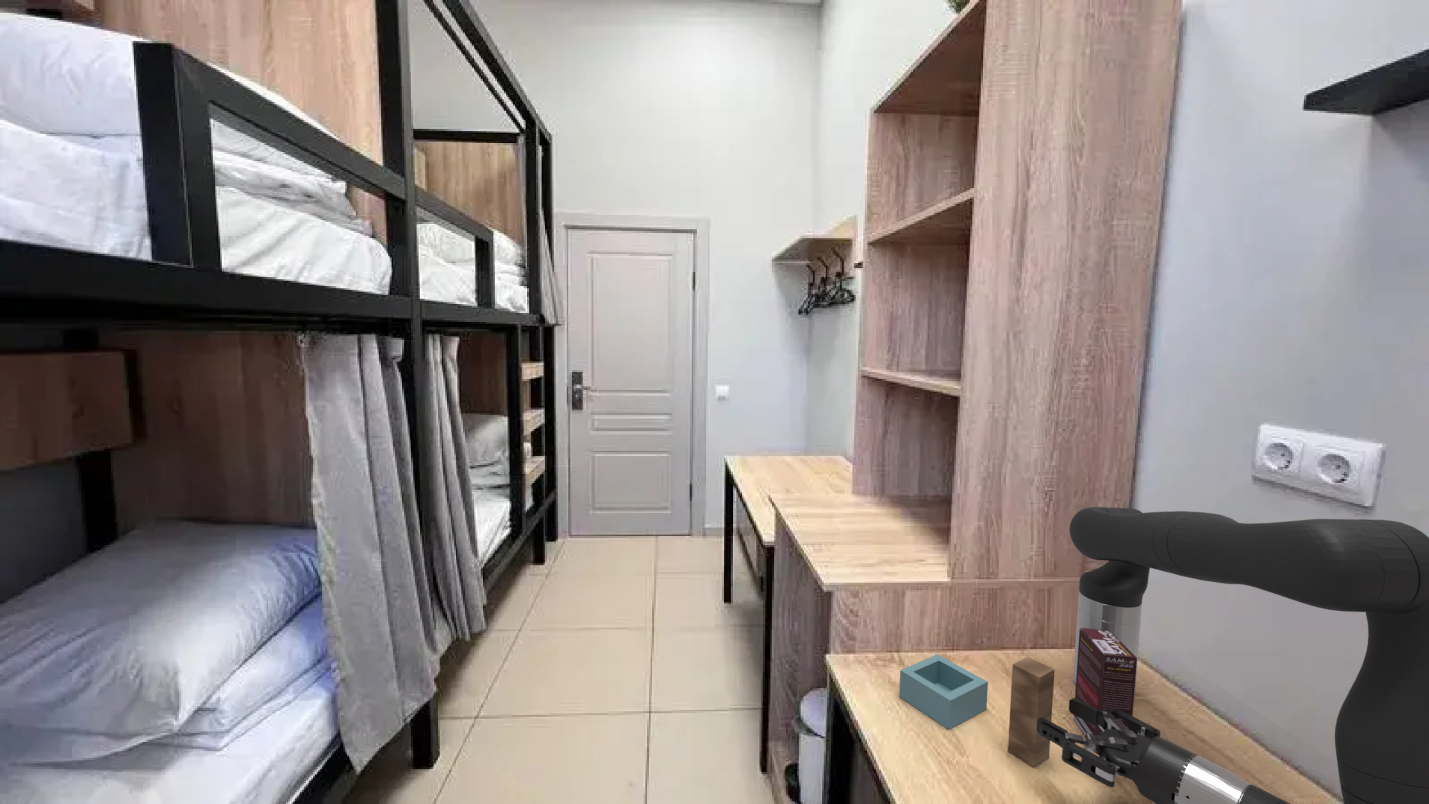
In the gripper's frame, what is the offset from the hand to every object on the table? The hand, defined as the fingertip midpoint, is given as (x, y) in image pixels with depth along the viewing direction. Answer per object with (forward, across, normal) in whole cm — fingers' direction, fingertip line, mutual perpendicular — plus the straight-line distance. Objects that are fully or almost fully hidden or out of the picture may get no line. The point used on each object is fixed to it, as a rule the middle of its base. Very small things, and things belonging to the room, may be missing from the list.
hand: (1054, 713), depth 81 cm
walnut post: (+3, 0, +8) cm, 9 cm away
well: (+18, 0, +8) cm, 20 cm away
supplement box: (0, -14, +9) cm, 16 cm away
